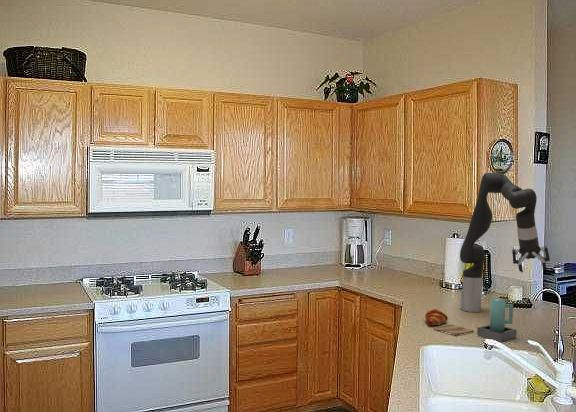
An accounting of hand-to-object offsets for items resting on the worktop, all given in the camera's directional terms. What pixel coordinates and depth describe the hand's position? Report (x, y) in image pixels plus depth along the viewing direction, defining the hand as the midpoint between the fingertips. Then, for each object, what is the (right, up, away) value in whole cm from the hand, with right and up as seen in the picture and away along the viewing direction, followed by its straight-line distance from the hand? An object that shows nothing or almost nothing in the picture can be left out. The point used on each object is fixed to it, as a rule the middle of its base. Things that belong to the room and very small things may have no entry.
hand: (532, 270), depth 239 cm
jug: (-14, -28, -1) cm, 31 cm away
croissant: (-35, -27, +22) cm, 49 cm away
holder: (-16, -28, -1) cm, 32 cm away
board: (-32, -27, +7) cm, 42 cm away
